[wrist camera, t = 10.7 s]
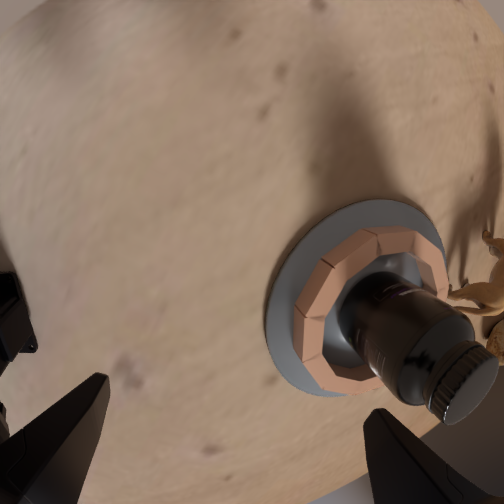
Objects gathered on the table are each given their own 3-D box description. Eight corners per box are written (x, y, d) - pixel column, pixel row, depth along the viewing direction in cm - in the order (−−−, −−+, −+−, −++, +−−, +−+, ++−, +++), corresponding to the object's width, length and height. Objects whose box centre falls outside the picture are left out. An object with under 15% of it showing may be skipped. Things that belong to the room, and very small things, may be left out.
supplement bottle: (392, 252, 22) (515, 314, 11) (410, 313, 25) (505, 383, 14) (322, 301, 22) (427, 404, 11) (349, 358, 24) (432, 453, 13)
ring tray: (266, 411, 25) (274, 431, 22) (261, 203, 20) (273, 209, 17) (422, 364, 28) (436, 376, 26) (451, 198, 23) (472, 203, 21)
